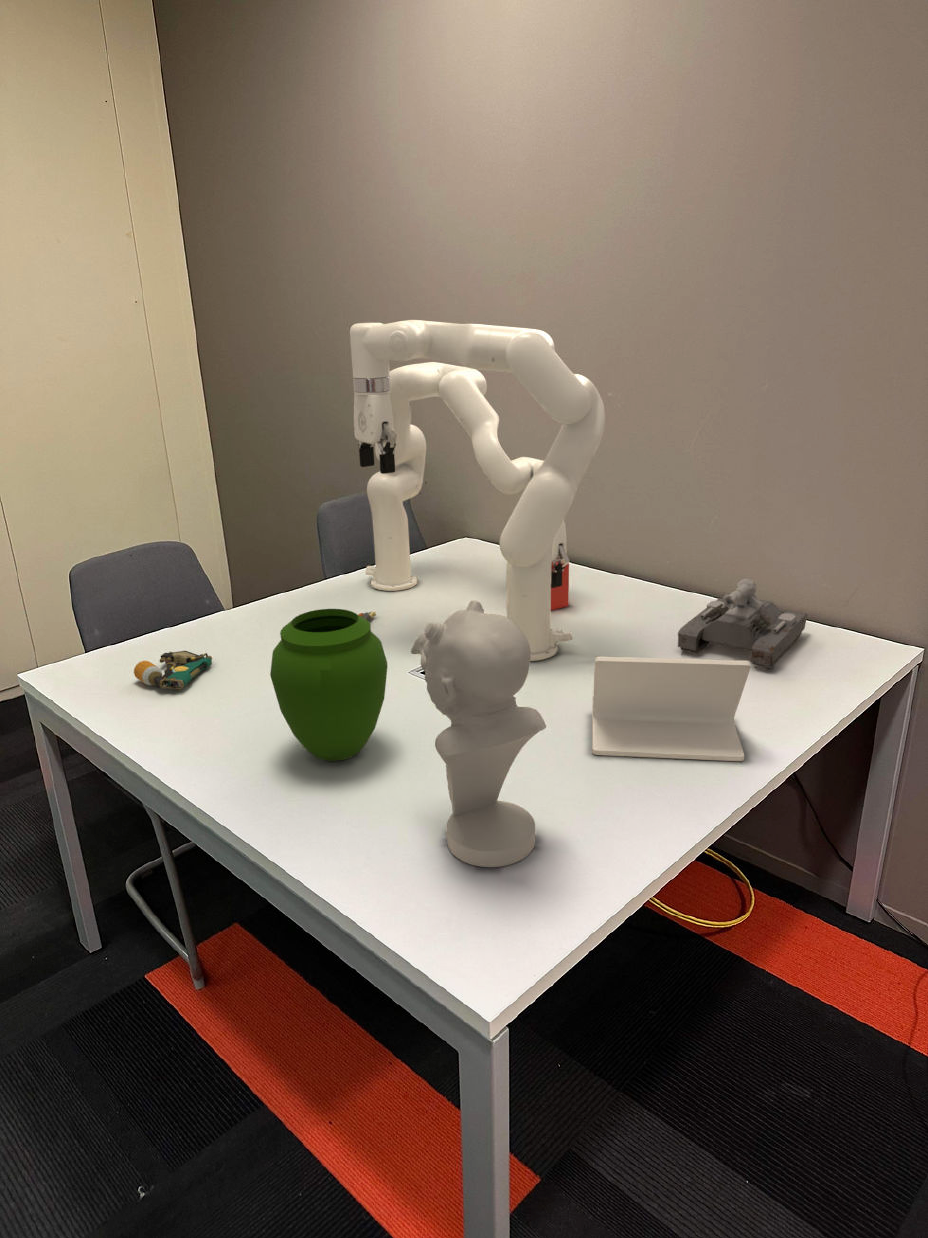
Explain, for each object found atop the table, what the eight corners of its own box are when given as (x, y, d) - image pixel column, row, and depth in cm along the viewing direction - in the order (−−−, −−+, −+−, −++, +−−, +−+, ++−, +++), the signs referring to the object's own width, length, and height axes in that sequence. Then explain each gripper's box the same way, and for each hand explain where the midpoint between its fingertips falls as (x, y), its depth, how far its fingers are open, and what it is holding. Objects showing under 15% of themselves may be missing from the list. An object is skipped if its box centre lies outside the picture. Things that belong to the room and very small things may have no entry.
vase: (415, 740, 151) (408, 611, 143) (343, 792, 136) (331, 651, 127) (331, 715, 161) (319, 593, 153) (256, 761, 146) (238, 628, 137)
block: (527, 607, 215) (526, 563, 211) (554, 600, 219) (555, 557, 215) (540, 613, 210) (540, 569, 206) (568, 606, 215) (569, 563, 211)
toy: (718, 618, 203) (723, 557, 198) (805, 634, 192) (812, 570, 187) (676, 653, 184) (680, 587, 179) (769, 673, 173) (777, 604, 168)
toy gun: (311, 634, 194) (352, 630, 192) (338, 611, 212) (376, 607, 210) (313, 645, 195) (354, 642, 193) (340, 621, 213) (378, 618, 211)
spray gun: (177, 659, 191) (231, 671, 185) (120, 684, 176) (176, 698, 171) (176, 641, 190) (230, 653, 184) (118, 665, 175) (174, 678, 169)
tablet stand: (744, 761, 141) (754, 667, 135) (592, 754, 145) (595, 663, 139) (728, 711, 158) (736, 626, 152) (592, 707, 162) (594, 623, 156)
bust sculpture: (481, 772, 140) (476, 569, 128) (565, 848, 120) (569, 617, 108) (392, 800, 134) (378, 588, 121) (465, 886, 114) (457, 642, 101)
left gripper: (515, 508, 211) (516, 577, 218) (558, 521, 198) (557, 595, 204) (539, 503, 215) (539, 572, 221) (583, 516, 201) (582, 589, 208)
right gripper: (338, 384, 180) (344, 465, 186) (374, 390, 166) (379, 478, 172) (370, 382, 184) (375, 461, 190) (408, 387, 170) (412, 473, 176)
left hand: (548, 582), depth 213 cm, fingers closed on block, 5 cm apart
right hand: (377, 469), depth 181 cm, fingers open, 9 cm apart
